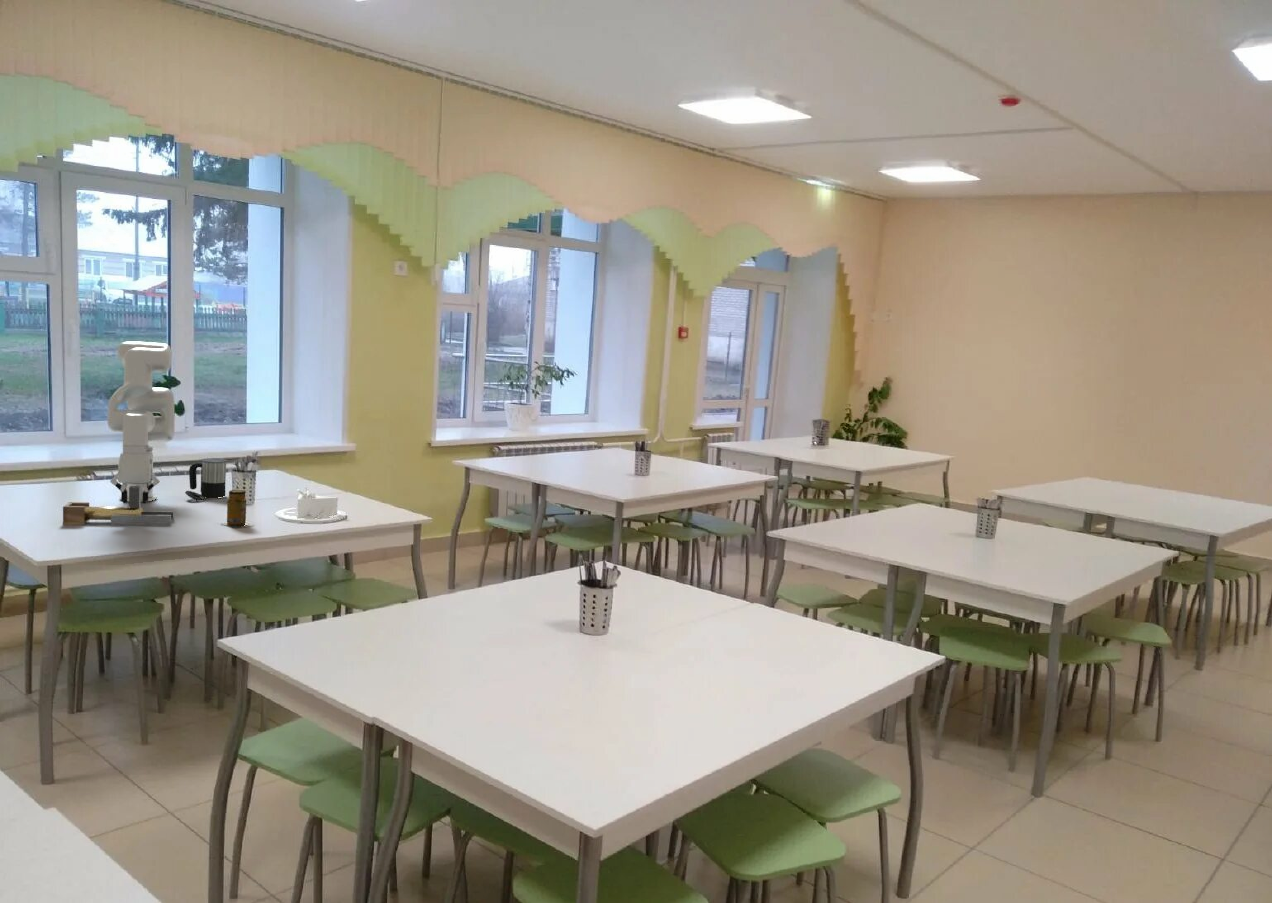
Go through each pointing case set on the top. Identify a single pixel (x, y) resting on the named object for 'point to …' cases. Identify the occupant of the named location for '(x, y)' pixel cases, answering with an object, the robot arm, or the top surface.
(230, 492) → the condiment
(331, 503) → the dish
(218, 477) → the milk frother
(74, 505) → the socket
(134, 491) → the bolt
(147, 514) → the channel
